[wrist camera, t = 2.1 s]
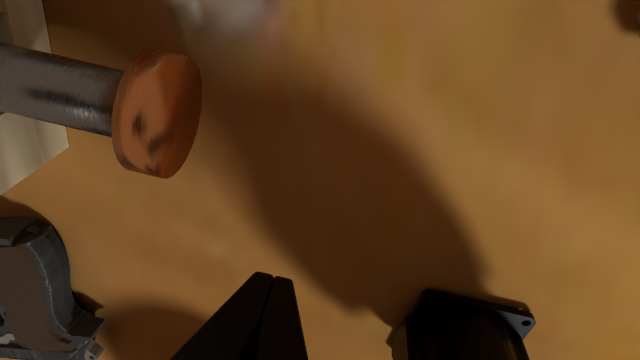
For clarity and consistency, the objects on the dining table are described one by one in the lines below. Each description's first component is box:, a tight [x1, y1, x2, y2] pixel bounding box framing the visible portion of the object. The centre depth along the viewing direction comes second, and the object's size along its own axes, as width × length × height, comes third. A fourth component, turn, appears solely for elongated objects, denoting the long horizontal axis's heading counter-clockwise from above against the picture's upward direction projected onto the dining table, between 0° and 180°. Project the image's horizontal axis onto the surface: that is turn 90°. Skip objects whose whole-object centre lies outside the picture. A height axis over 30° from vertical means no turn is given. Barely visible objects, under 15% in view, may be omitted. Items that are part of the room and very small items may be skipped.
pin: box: [0, 42, 202, 178], centre depth 14 cm, size 12×4×4 cm, turn 79°
